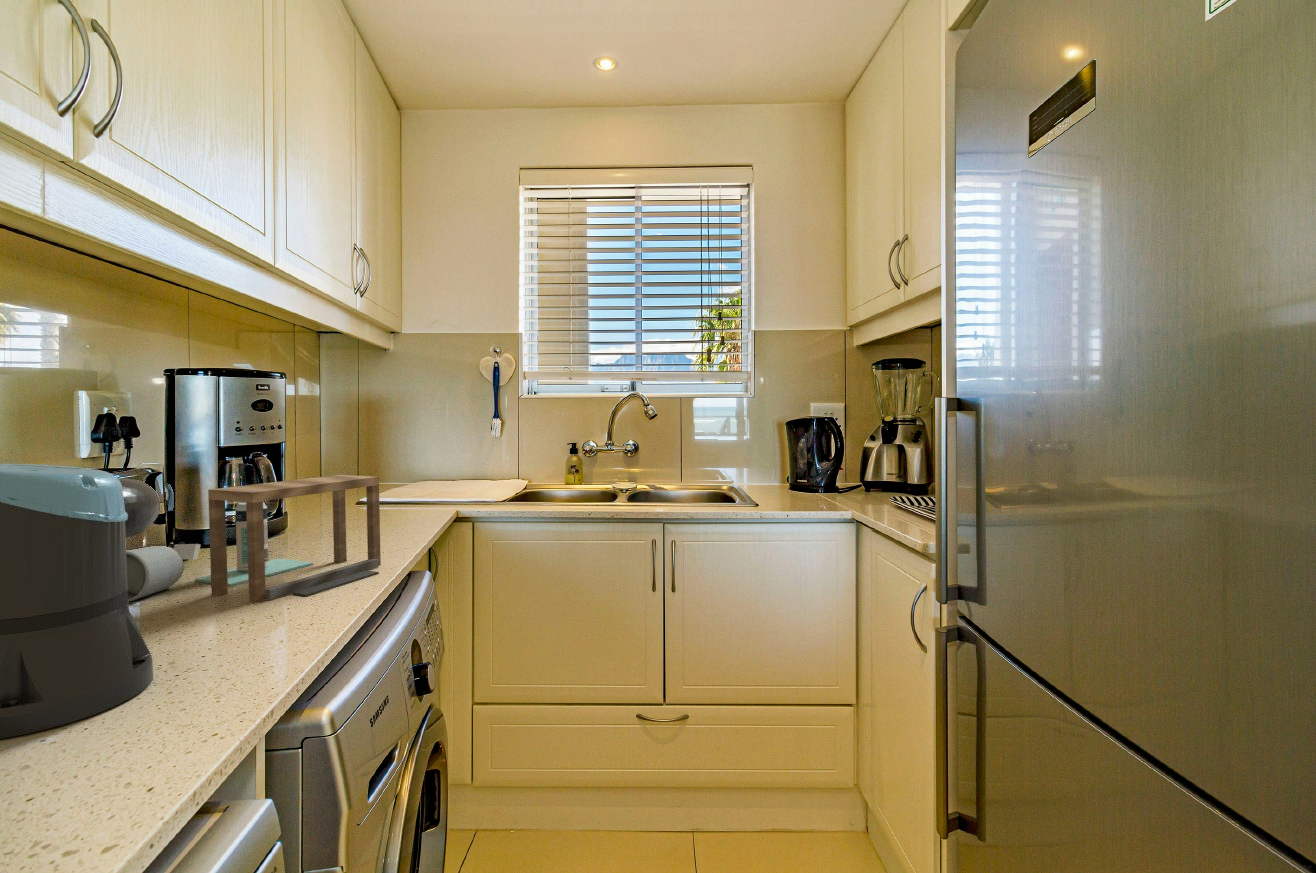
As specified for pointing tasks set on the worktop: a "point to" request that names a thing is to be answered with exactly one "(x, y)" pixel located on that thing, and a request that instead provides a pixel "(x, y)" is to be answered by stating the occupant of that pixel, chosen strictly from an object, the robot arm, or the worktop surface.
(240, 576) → the mat
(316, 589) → the mat
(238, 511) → the beer can
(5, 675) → the robot arm
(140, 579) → the ceramic mug
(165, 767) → the worktop surface
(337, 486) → the tunnel
